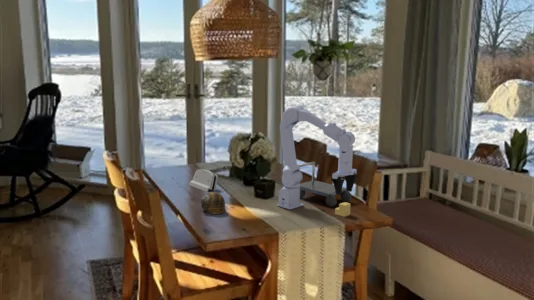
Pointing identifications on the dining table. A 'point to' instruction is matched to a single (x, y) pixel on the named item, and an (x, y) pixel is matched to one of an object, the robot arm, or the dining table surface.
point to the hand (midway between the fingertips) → (343, 192)
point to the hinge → (204, 180)
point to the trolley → (322, 189)
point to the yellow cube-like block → (343, 209)
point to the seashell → (213, 203)
